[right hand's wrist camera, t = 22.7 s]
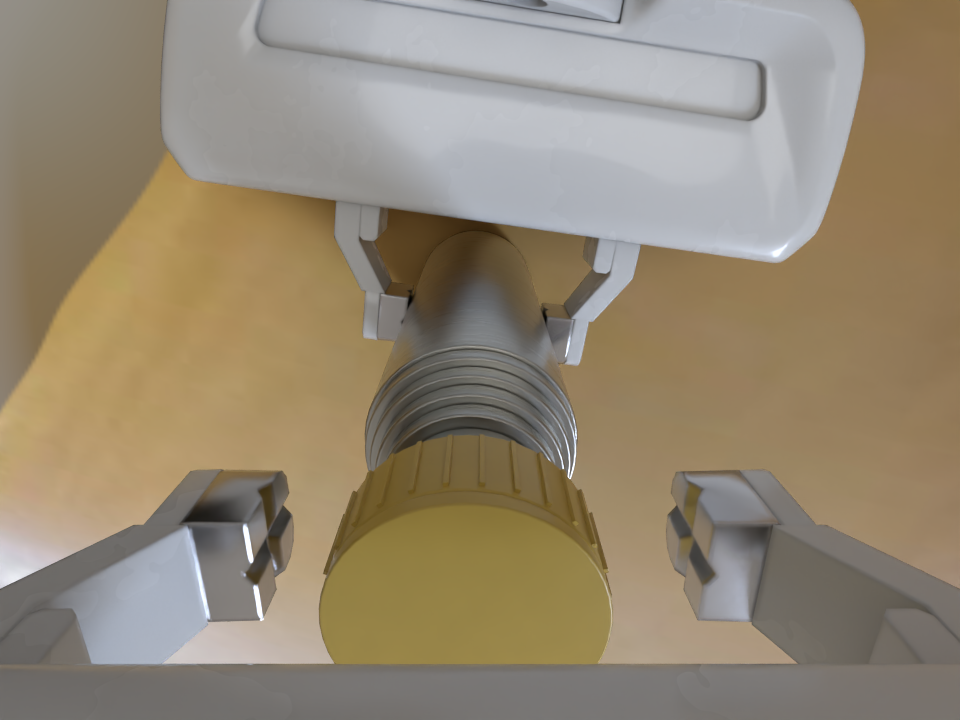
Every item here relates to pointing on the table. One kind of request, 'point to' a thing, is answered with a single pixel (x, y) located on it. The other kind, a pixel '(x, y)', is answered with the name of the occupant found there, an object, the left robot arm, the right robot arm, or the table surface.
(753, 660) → the table surface
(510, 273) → the bottle
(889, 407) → the table surface
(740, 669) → the right robot arm
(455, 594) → the cap
